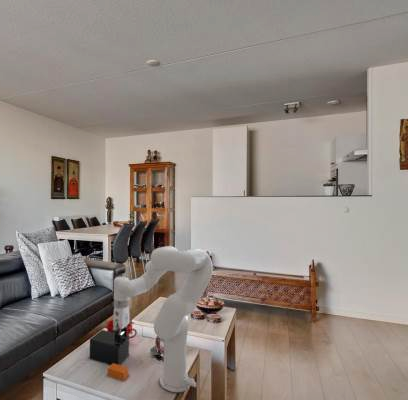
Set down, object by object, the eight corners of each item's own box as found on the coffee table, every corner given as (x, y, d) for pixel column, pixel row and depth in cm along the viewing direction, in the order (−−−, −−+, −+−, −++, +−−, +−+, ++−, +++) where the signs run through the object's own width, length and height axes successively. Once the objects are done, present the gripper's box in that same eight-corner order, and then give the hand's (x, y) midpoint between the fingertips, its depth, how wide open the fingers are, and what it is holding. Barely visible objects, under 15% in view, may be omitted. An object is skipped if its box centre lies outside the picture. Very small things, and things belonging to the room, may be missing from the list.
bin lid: (130, 338, 157) (130, 328, 157) (119, 348, 146) (119, 338, 146) (102, 331, 165) (102, 322, 165) (89, 340, 153) (90, 331, 153)
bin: (128, 355, 157) (128, 337, 157) (118, 366, 146) (118, 348, 146) (101, 348, 165) (102, 331, 165) (89, 358, 153) (89, 340, 153)
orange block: (128, 375, 139) (128, 367, 139) (123, 381, 135) (123, 372, 135) (112, 370, 143) (112, 363, 143) (107, 376, 138) (107, 368, 138)
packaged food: (175, 352, 160) (175, 343, 160) (164, 362, 151) (164, 352, 151) (160, 348, 166) (160, 338, 166) (149, 356, 156) (149, 347, 156)
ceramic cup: (132, 351, 162) (132, 332, 162) (102, 344, 169) (103, 326, 169) (140, 341, 173) (140, 323, 173) (112, 335, 180) (112, 318, 180)
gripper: (120, 309, 143) (120, 348, 143) (135, 299, 159) (134, 334, 159) (106, 306, 147) (105, 344, 147) (121, 296, 162) (121, 331, 162)
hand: (120, 338), depth 153 cm, fingers open, 6 cm apart
